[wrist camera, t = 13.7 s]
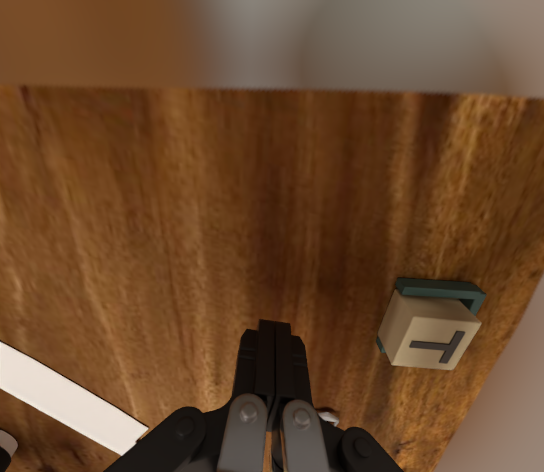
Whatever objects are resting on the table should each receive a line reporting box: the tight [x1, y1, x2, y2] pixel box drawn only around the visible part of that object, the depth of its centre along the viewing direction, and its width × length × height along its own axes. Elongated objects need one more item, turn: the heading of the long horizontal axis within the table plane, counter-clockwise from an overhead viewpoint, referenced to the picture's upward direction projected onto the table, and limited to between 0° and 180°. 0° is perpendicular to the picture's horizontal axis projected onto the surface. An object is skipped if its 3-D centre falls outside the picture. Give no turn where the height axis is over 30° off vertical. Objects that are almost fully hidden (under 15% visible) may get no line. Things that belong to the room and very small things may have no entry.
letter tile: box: [378, 289, 481, 370], centre depth 17 cm, size 4×4×3 cm
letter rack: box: [376, 278, 486, 353], centre depth 17 cm, size 5×6×1 cm
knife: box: [0, 342, 149, 456], centre depth 23 cm, size 1×34×5 cm
